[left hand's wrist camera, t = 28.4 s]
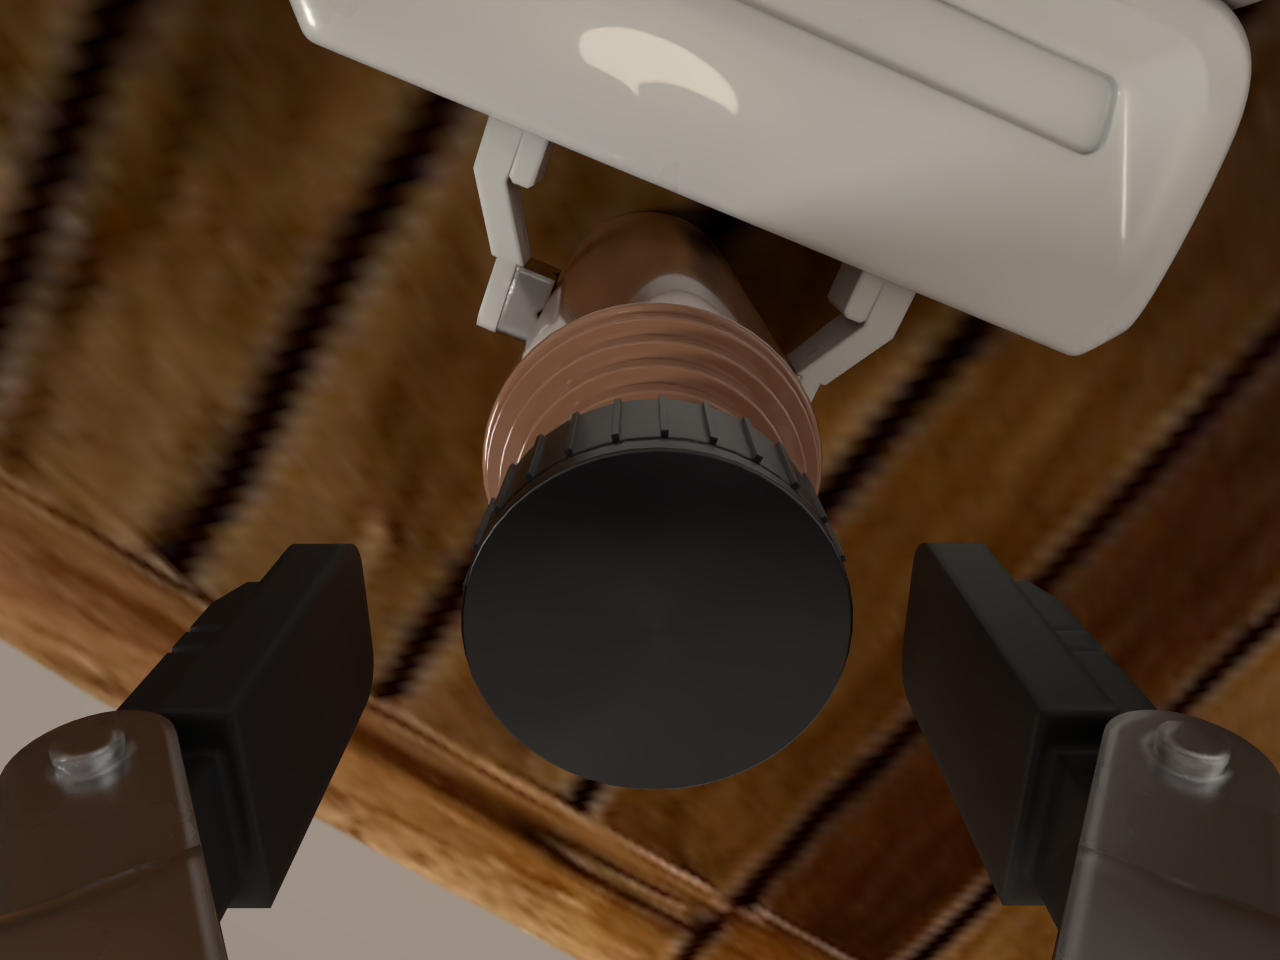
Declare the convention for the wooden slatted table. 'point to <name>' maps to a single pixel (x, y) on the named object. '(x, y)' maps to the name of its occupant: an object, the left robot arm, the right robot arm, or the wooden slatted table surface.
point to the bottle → (648, 345)
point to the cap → (656, 597)
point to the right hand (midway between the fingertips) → (637, 381)
